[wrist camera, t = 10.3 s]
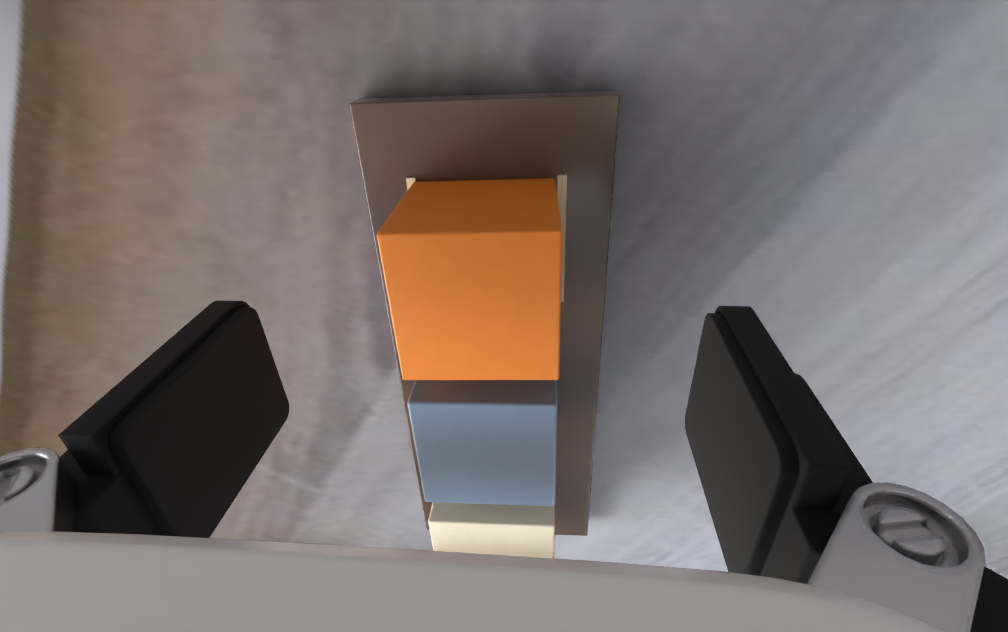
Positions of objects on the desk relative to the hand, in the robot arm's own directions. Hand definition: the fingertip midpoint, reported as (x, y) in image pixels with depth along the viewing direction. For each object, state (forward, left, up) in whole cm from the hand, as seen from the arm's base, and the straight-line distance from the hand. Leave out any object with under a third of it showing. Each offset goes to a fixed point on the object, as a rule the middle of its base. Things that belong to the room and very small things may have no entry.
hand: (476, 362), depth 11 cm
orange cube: (0, -1, -7) cm, 7 cm away
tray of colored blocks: (+6, 0, -8) cm, 10 cm away
